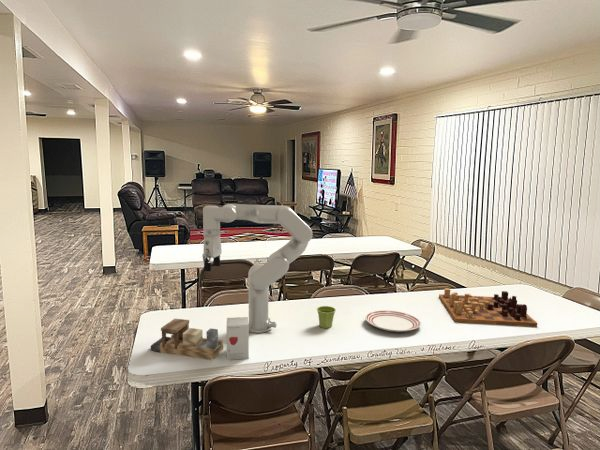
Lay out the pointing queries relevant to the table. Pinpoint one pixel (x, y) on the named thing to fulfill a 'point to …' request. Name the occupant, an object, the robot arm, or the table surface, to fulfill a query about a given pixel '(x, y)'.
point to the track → (176, 342)
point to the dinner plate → (393, 320)
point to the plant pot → (326, 316)
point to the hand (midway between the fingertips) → (212, 268)
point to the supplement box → (237, 338)
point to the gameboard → (486, 309)
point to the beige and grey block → (201, 338)
